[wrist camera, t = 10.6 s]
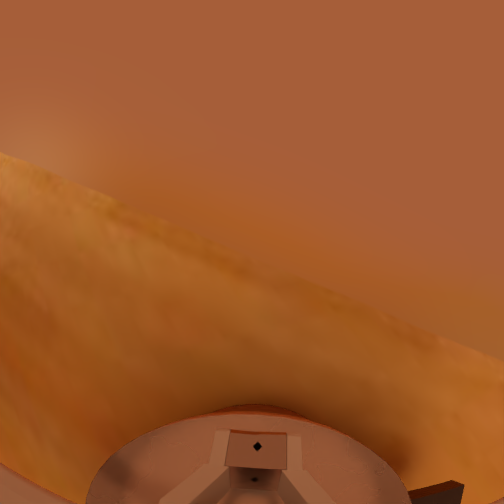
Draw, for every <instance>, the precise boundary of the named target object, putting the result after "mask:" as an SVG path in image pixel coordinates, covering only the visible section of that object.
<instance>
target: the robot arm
mask: <svg viewBox="0 0 504 504" xmlns="http://www.w3.org/2000/svg"><path fill="white" fill-rule="evenodd" d="M230 488H237V489H254V490H267V491H277V493H278V494H279V496H280V497H281V499H282V501H283V502H284V504H336V503H335V502H334V501H333V500H332V498H331V497H330V496H329V495H328V494H327V493H326V492H325V491H324V489H323V488H322V487H321V486H320V485H319V484H318V482H317V481H316V480H315V479H314V478H313V477H312V475H311V474H310V473H309V472H308V471H307V470H303V454H302V435H301V433H286V432H261V431H259V432H255V431H244V430H234V429H226V428H216V431H215V434H214V439H213V444H212V449H211V453H210V458H209V463H208V464H203V465H202V466H201V467H200V468H198V469H197V470H196V471H195V472H194V473H192V474H191V475H190V476H189V477H188V478H186V479H185V480H184V481H183V482H182V483H180V484H179V485H178V486H177V487H175V488H174V489H173V490H172V491H170V492H169V493H168V494H166V495H165V496H164V497H163V498H161V499H160V502H159V504H217V503H218V502H219V501H220V500H221V499H222V498H223V497H224V496H225V495H226V493H227V492H228V491H229V490H230ZM0 504H76V503H74V502H72V501H69V500H67V499H65V498H63V497H61V496H59V495H57V494H55V493H53V492H51V491H49V490H47V489H45V488H43V487H41V486H39V485H37V484H35V483H33V482H32V481H30V480H28V479H26V478H25V477H23V476H21V475H19V474H18V473H16V472H14V471H13V470H11V469H10V468H8V467H6V466H5V465H3V464H2V463H0ZM490 504H504V497H503V498H501V499H499V500H496V501H494V502H492V503H490Z"/></svg>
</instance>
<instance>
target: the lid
mask: <svg viewBox="0 0 504 504" xmlns="http://www.w3.org/2000/svg"><path fill="white" fill-rule="evenodd" d="M216 428H226V429H234V430H244V431H255V432H259V431H261V432H286V433H301V435H302V454H303V470H307V471H308V472H309V473H310V474H311V475H312V477H313V478H314V479H315V480H316V481H317V482H318V484H319V485H320V486H321V487H322V488H323V489H324V491H325V492H326V493H327V494H328V495H329V496H330V497H331V498H332V500H333V501H334V502H335V503H336V504H412V503H411V500H410V498H409V495H408V492H407V489H406V488H405V486H404V484H403V483H402V481H401V480H400V478H399V476H398V475H397V474H396V473H395V472H394V470H393V469H392V468H391V467H390V466H389V465H388V464H387V462H385V461H384V460H383V459H382V458H380V457H379V456H378V455H377V454H375V453H374V452H373V451H372V450H370V449H369V448H367V447H366V446H364V445H363V444H361V443H360V442H358V441H356V440H355V439H353V438H351V437H350V436H348V435H346V434H344V433H342V432H340V431H338V430H335V429H333V428H331V427H329V426H326V425H323V424H320V423H317V422H314V421H311V420H308V419H304V418H299V417H294V416H289V415H285V414H277V413H268V412H259V411H231V412H219V413H210V414H204V415H199V416H193V417H188V418H185V419H182V420H178V421H175V422H172V423H169V424H166V425H164V426H162V427H159V428H157V429H155V430H152V431H150V432H148V433H146V434H144V435H141V436H140V437H138V438H136V439H135V440H133V441H131V442H130V443H128V444H126V445H124V446H123V447H122V448H121V449H119V450H118V451H117V452H116V453H115V454H113V455H112V456H111V457H110V458H109V459H108V460H107V461H106V462H105V464H104V465H103V466H102V467H101V468H100V469H99V471H98V473H97V474H96V476H95V478H94V480H93V481H92V483H91V486H90V489H89V492H88V494H87V499H86V504H159V502H160V499H161V498H163V497H164V496H165V495H166V494H168V493H169V492H170V491H172V490H173V489H174V488H175V487H177V486H178V485H179V484H180V483H182V482H183V481H184V480H185V479H186V478H188V477H189V476H190V475H191V474H192V473H194V472H195V471H196V470H197V469H198V468H200V467H201V466H202V465H203V464H208V463H209V458H210V453H211V449H212V444H213V439H214V434H215V431H216ZM217 504H284V502H283V501H282V499H281V497H280V496H279V494H278V493H277V491H267V490H254V489H237V488H230V490H229V491H228V492H227V493H226V495H225V496H224V497H223V498H222V499H221V500H220V501H219V502H218V503H217Z"/></svg>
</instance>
